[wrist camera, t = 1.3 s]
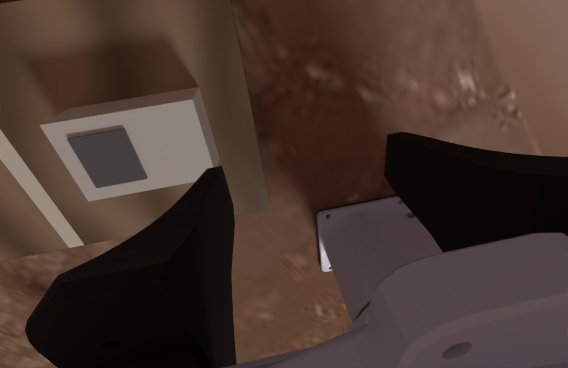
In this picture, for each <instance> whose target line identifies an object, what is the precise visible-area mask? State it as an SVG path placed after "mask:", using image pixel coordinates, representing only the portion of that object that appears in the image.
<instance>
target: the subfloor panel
mask: <svg viewBox="0 0 568 368" xmlns="http://www.w3.org/2000/svg"><path fill="white" fill-rule="evenodd" d="M196 87H199V89H200V93H201V96H202V100H203V103H204V107H205V110H206V114H207V117H208V121H209V124H210V128H211V131H212V135H213V138H214V142H215V145H216V148H217V152H218V155H219V161H218V166H222V167H223V171H224V174H225V178H226V181H227V185H228V188H229V191H230V195H231V198H232V202H233V206H234V216H235V215H240V214H245V213H250V212H255V211H260V210H265V209H271V206H270V201H269V195H268V190H267V185H266V180H265V175H264V170H263V165H262V160H261V154H260V149H259V144H258V139H257V134H256V129H255V124H254V118H253V113H252V108H251V103H250V98H249V93H248V88H247V83H246V77H245V72H244V67H243V62H242V57H241V52H240V47H239V41H238V36H237V31H236V26H235V21H234V16H233V11H232V6H231V0H21V1H14V2H7V3H0V261H5V260H10V259H15V258H20V257H26V256H31V255H36V254H41V253H46V252H51V251H56V250H61V249H66V248H71V247H77V246H82V245H87V244H92V243H97V242H102V241H107V240H112V239H117V238H123V237H128V236H133V235H135V234H137V233H138V232H140V231H141V230H143V229H144V228H146V227H147V226H148V225H150V224H151V223H153V222H154V221H155V220H156V219H158V218H159V217H160V216H161V215H163V214H164V213H165V212H166V211H167V210H169V209H170V208H171V207H172V206H173V205H174V204H175V203H176V202H177V201H178V200H179V199H180V198H181V197H182V196H183V195H184V194H185V193H186V192H187V191H188V190H189V189H190V187H191V186H192V185H193V184H194V183H195V182H191V183H186V184H180V185H175V186H170V187H164V188H159V189H154V190H148V191H143V192H137V193H132V194H127V195H121V196H116V197H111V198H105V199H100V200H95V201H89V202H88V200H87V199H86V197H85V196H84V194H83V192H82V191H81V189H80V188H79V186H78V185H77V183H76V181H75V180H74V178H73V177H72V175H71V174H70V172H69V171H68V169H67V167H66V166H65V164H64V163H63V161H62V160H61V158H60V157H59V155H58V153H57V152H56V150H55V149H54V147H53V146H52V144H51V142H50V141H49V139H48V138H47V136H46V135H45V133H44V132H43V130H42V128H41V127H40V125H41V124H43V123H44V122H46V121H48V120H50V119H51V118H53V117H55V116H57V115H59V114H60V113H62V112H64V111H66V110H68V109H70V108H76V107H82V106H88V105H94V104H100V103H106V102H112V101H118V100H124V99H130V98H136V97H142V96H148V95H154V94H160V93H166V92H172V91H178V90H184V89H190V88H196Z"/></svg>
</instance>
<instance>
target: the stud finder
mask: <svg viewBox="0 0 568 368" xmlns="http://www.w3.org/2000/svg"><path fill="white" fill-rule="evenodd" d="M40 127H41V128H42V130H43V132H44V133H45V135H46V136H47V138H48V139H49V141H50V142H51V144H52V146H53V147H54V149H55V150H56V152H57V153H58V155H59V157H60V158H61V160H62V161H63V163H64V164H65V166H66V167H67V169H68V171H69V172H70V174H71V175H72V177H73V178H74V180H75V181H76V183H77V185H78V186H79V188H80V189H81V191H82V192H83V194H84V196H85V197H86V199H87V200H88V202H89V201H95V200H100V199H105V198H111V197H116V196H121V195H127V194H132V193H137V192H143V191H148V190H154V189H159V188H164V187H170V186H175V185H180V184H186V183H191V182H196V181H197V179H198V178H199V177H200V176H201V175H202V174H203V173H204V171H205V170H206V169H207V168H212V167H218V161H219V155H218V152H217V148H216V145H215V142H214V138H213V135H212V131H211V128H210V124H209V121H208V117H207V114H206V110H205V107H204V103H203V100H202V96H201V93H200V89H199V87H196V88H190V89H184V90H178V91H172V92H166V93H160V94H154V95H148V96H142V97H136V98H130V99H124V100H118V101H112V102H106V103H100V104H94V105H88V106H82V107H76V108H70V109H68V110H66V111H64V112H62V113H60V114H59V115H57V116H55V117H53V118H51V119H50V120H48V121H46V122H44V123H43V124H41V125H40Z"/></svg>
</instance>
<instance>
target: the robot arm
mask: <svg viewBox="0 0 568 368" xmlns="http://www.w3.org/2000/svg"><path fill="white" fill-rule="evenodd" d="M384 176H385V177H386V179H387V181H388V183H389V184H390V186H391V187H392V189H393V190H394V192H395V193H396V194H397V196H396V197H391V198H386V199H381V200H376V201H371V202H366V203H361V204H356V205H351V206H346V207H341V208H336V209H330V210H325V211H321V212H319V213H318V214H317V226H318V238H319V250H320V263H321V269H322V271H324V272H327V271H332V270H333V273H334V276H335V278H336V281H337V284H338V286H339V289H340V291H341V294H342V297H343V299H344V302H345V305H346V307H347V310H348V312H349V315H350V318H351V320H352V323H350V324H348V325H347V326H348V329H349V332H346V333H344V334H342V335H339V336H337V337H335V338H333V339H330V340H328V341H326V342H323V343H321V344H319V345H316V346H314V347H311V348H306V349H302V350H298V351H293V352H289V353H285V354H280V355H276V356H272V357H267V358H263V359H259V360H254V361H250V362H246V363H241V364H237V365H236V353H235V338H234V324H233V305H232V282H231V271H232V255H233V242H234V227H235V220H234V206H233V202H232V198H231V195H230V191H229V188H228V185H227V181H226V178H225V174H224V171H223V167H222V166H218V167H212V168H207V169H206V170H205V171H204V173H203V174H202V175H201V176H200V177H199V178H198V179H197V181H196V182H195V183H194V184H193V185H192V186H191V187H190V189H189V190H188V191H187V192H186V193H185V194H184V195H183V196H182V197H181V198H180V199H179V200H178V201H177V202H176V203H175V204H174V205H173V206H172V207H171V208H170V209H169V210H167V211H166V212H165V213H164V214H163V215H161V216H160V217H159V218H158V219H156V220H155V221H154V222H153V223H151V224H150V225H148V226H147V227H146V228H144V229H143V230H141V231H140V232H138V233H137V234H135V235H134V236H132V237H131V238H129V239H128V240H126V241H124V242H123V243H121V244H119V245H118V246H116V247H114V248H112V249H111V250H109V251H107V252H105V253H103V254H102V255H100V256H98V257H96V258H94V259H92V260H90V261H88V262H86V263H83V264H81V265H79V266H77V267H75V268H73V269H71V270H69V271H67V272H65V273H62V274H60V275H58V276H57V277H56V279H55V280H54V282H53V283H52V285H51V286H50V288H49V289H48V291H47V292H46V294H45V295H44V296H43V298H42V299H41V301H40V302H39V304H38V305H37V307H36V308H35V310H34V311H33V313H32V314H31V316H30V317H29V319H28V320H27V323H26V328H25V332H26V335H27V338H28V340H29V342H30V343H31V345H32V346H33V347H34V348H35V349H36V350H37V351H38V352H39V353H40V354H42V355H43V356H44V357H45V358H47V359H48V360H49V361H50V362H51V363H53V364H54V365H55V366H56V367H58V368H568V157H553V156H536V155H523V154H513V153H505V152H498V151H490V150H484V149H478V148H473V147H468V146H463V145H458V144H454V143H450V142H445V141H441V140H437V139H433V138H429V137H425V136H421V135H416V134H412V133H405V132H399V133H394V134H388V135H387V146H386V159H385V171H384ZM400 200H401V201H400ZM399 201H400V202H399ZM328 214H330V215H329V216H326V215H328Z"/></svg>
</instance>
